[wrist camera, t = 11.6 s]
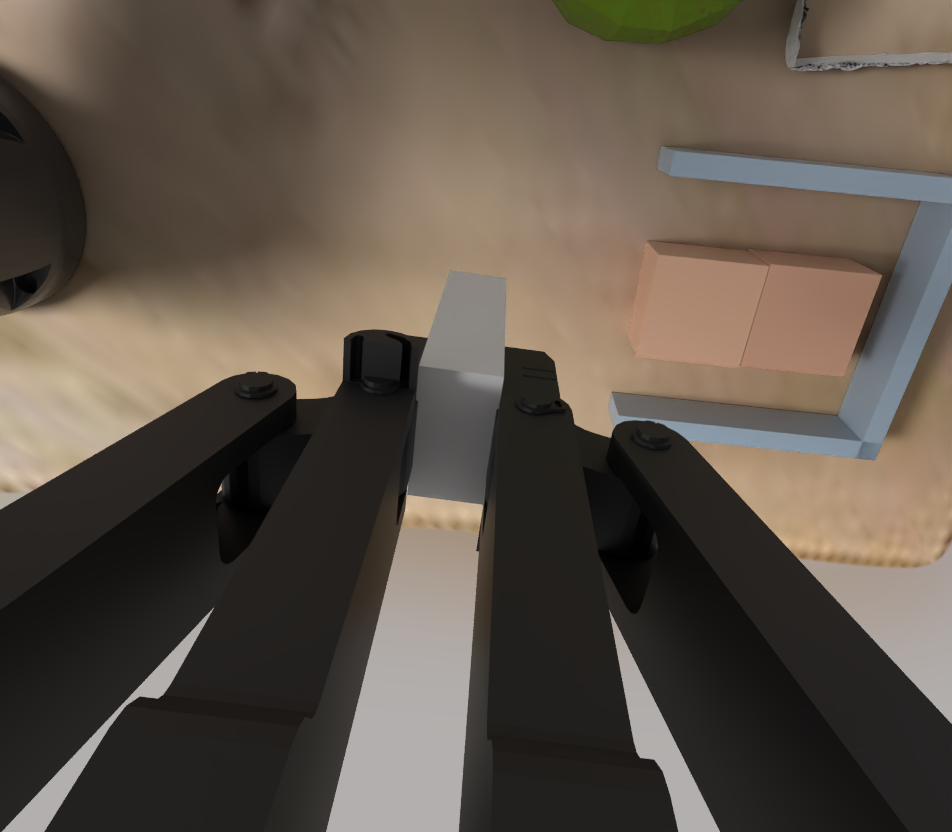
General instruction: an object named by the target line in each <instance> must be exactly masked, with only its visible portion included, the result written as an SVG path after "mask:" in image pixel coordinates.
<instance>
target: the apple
mask: <svg viewBox="0 0 952 832" xmlns="http://www.w3.org/2000/svg"><path fill="white" fill-rule="evenodd" d="M552 1H553V2H554V3H555V5H556V6H557V8H558V9H559V10H560V12H561V13H562V15H563V16H564V17H565V19H566V20H567V22H568V23H570V24H572V25H574V26H576V27H578V28H580V29H582V30H584V31H586V32H588V33H590V34H592V35H595V36H597V37H599V38H601V39H603V40H605V41H620V42H636V43H665V42H668V41H671V40H673V39H676V38H679V37H682V36H685V35H688V34H691V33H693V32H696V31H699V30H702V29H705V28H708V27H711V26H713V25H716V24H717V23H718V22H719V21H720V20H721V19H723V18H724V17H725V16H726V15H727V14H728V13H729V12H730V11H731V10H733V9H734V8H735V7H736V6H737V5H738V4H739V3H740V2H742V1H743V0H552Z"/></svg>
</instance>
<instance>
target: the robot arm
mask: <svg viewBox="0 0 952 832" xmlns="http://www.w3.org/2000/svg"><path fill="white" fill-rule="evenodd" d="M84 240H85V210H84V203H83V198H82V193H81V189H80V186H79V183H78V180H77V177H76V174H75V171H74V169H73V167H72V164H71V162H70V160H69V158H68V156H67V154H66V152H65V150H64V148H63V147H62V145H61V143H60V141H59V140H58V138H57V137H56V135H55V134H54V132H53V131H52V129H51V128H50V126H49V125H48V124H47V122H46V121H45V120H44V119H43V117H42V116H41V115H40V114H39V113H38V111H37V110H36V109H35V108H34V107H33V106H32V105H31V104H30V103H29V102H28V101H27V100H26V99H25V98H24V97H23V96H22V95H21V94H20V93H19V92H18V91H16V90H15V89H14V88H13V87H12V86H10V85H9V84H8V83H7V82H5V81H4V80H3V79H1V78H0V316H2V315H7V314H11V313H14V312H17V311H20V310H22V309H24V308H27V307H29V306H32V305H34V304H36V303H39V302H41V301H43V300H45V299H47V298H49V297H50V296H52V295H53V294H55V293H56V292H57V291H58V290H60V289H61V288H62V287H63V286H64V285H65V284H66V282H67V281H68V280H69V279H70V277H71V276H72V274H73V273H74V271H75V269H76V267H77V265H78V263H79V260H80V257H81V254H82V250H83V246H84ZM505 308H506V278H503V277H495V276H488V275H480V274H473V273H465V272H458V271H451V270H450V273H449V276H448V279H447V282H446V285H445V288H444V291H443V294H442V297H441V300H440V303H439V306H438V309H437V312H436V315H435V318H434V321H433V324H432V328H431V331H430V334H429V337H428V338H424V337H416V336H409V335H405V334H402V333H398V332H393V331H388V330H362V331H358V332H354V333H351V334H349V335H348V336H346V337H345V338H344V356H343V382H342V383H341V385H340V387H339V389H338V390H337V392H336V394H335V396H333V397H328V398H319V399H296V385H295V384H294V383H293V382H291V381H290V380H289V379H287V378H284V377H282V376H279V375H274V374H268V373H267V372H258V373H256V372H247V373H245V374H241V375H235V376H232V377H229V378H227V379H224V380H222V381H220V382H219V383H217V384H215V385H214V386H212V387H210V388H208V389H207V390H205V391H203V392H202V393H200V394H198V395H196V396H195V397H193V398H191V399H190V400H188V401H186V402H184V403H183V404H181V405H179V406H178V407H176V408H174V409H172V410H171V411H169V412H167V413H166V414H164V415H162V416H160V417H159V418H157V419H155V420H153V421H152V422H150V423H148V424H147V425H145V426H143V427H141V428H140V429H138V430H136V431H135V432H133V433H131V434H129V435H128V436H126V437H124V438H123V439H121V440H119V441H117V442H116V443H114V444H112V445H111V446H109V447H107V448H105V449H104V450H102V451H100V452H99V453H97V454H95V455H93V456H92V457H90V458H88V459H87V460H85V461H83V462H81V463H80V464H78V465H76V466H75V467H73V468H71V469H69V470H68V471H66V472H64V473H63V474H61V475H59V476H57V477H56V478H54V479H52V480H51V481H49V482H47V483H45V484H44V485H42V486H40V487H39V488H37V489H35V490H33V491H32V492H30V493H28V494H26V495H25V496H23V497H21V498H20V499H18V500H16V501H15V502H13V503H11V504H9V505H8V506H6V507H4V508H3V509H1V510H0V832H2V831H3V830H4V829H5V827H6V826H7V825H8V824H9V823H10V822H11V821H12V820H13V819H14V818H15V817H16V816H17V815H18V814H19V813H20V811H22V810H23V808H24V807H25V806H26V805H27V804H28V803H29V802H30V801H31V800H32V799H33V798H34V797H35V796H36V795H37V794H38V792H40V791H41V789H42V788H43V787H44V786H45V785H46V784H47V783H48V782H49V781H50V780H51V779H52V778H53V777H54V776H55V775H56V774H57V772H58V771H59V770H60V769H61V768H62V767H63V766H64V765H65V764H66V763H67V762H68V761H69V760H70V759H71V758H72V757H73V756H74V755H75V754H76V752H77V751H78V750H79V749H80V748H81V747H82V746H83V745H84V744H85V743H86V742H87V741H88V740H89V738H91V737H92V736H93V734H94V733H95V732H96V731H97V730H98V729H99V728H100V727H101V726H102V725H103V724H104V723H105V721H107V720H108V718H110V716H111V715H112V714H113V713H114V712H115V711H116V710H117V709H118V708H119V707H120V706H121V705H122V703H124V702H125V700H127V699H128V697H129V696H130V695H131V694H132V693H133V692H134V691H135V690H136V689H137V688H138V687H139V686H140V685H141V684H142V683H143V682H144V681H145V679H146V678H147V677H148V676H149V675H150V674H151V673H152V672H153V671H154V670H155V669H156V668H157V667H158V666H159V665H160V664H161V662H162V661H163V660H164V659H165V658H166V657H167V656H168V655H169V654H170V653H171V652H172V651H173V650H174V649H175V648H176V647H177V646H178V645H179V644H180V642H181V641H182V640H183V639H184V638H185V637H186V636H187V635H188V634H189V633H190V632H191V631H192V630H193V629H194V628H195V627H196V626H197V625H198V623H199V622H200V621H201V620H202V619H203V618H204V617H205V616H206V615H207V614H208V613H209V612H210V611H211V610H212V609H213V608H214V609H213V611H212V613H211V614H210V616H209V618H208V620H207V622H206V623H205V625H204V627H203V629H202V630H201V632H200V634H199V636H198V637H197V639H196V641H195V643H194V644H193V646H192V648H191V650H190V651H189V653H188V655H187V657H186V658H185V660H184V662H183V664H182V666H181V668H180V669H179V671H178V673H177V674H176V676H175V678H174V680H173V681H172V683H171V685H170V686H169V688H168V689H167V691H166V692H165V693H164V695H163V696H161V697H160V698H158V699H155V698H147V697H139V698H137V699H136V700H134V701H133V702H131V703H130V704H128V705H127V706H126V707H125V708H124V709H123V711H122V712H121V713H120V714H119V716H118V717H117V719H116V720H115V721H114V722H113V724H112V725H111V726H110V728H109V729H108V731H107V733H106V734H105V736H104V737H103V739H102V740H101V742H100V744H99V745H98V747H97V749H96V750H95V752H94V753H93V755H92V757H91V758H90V760H89V761H88V763H87V765H86V766H85V768H84V769H83V771H82V773H81V774H80V776H79V777H78V779H77V781H76V782H75V784H74V785H73V787H72V789H71V790H70V792H69V793H68V795H67V797H66V798H65V800H64V801H63V803H62V805H61V806H60V808H59V809H58V811H57V813H56V814H55V816H54V817H53V819H52V821H51V822H50V824H49V825H48V827H47V829H46V830H45V832H326V829H327V825H328V821H329V817H330V813H331V808H332V805H333V801H334V797H335V792H336V789H337V785H338V781H339V776H340V772H341V768H342V764H343V760H344V756H345V752H346V748H347V744H348V740H349V735H350V731H351V728H352V723H353V719H354V715H355V711H356V707H357V703H358V699H359V695H360V691H361V687H362V683H363V679H364V675H365V670H366V666H367V662H368V658H369V654H370V650H371V646H372V642H373V637H374V634H375V630H376V626H377V622H378V617H379V614H380V609H381V605H382V601H383V597H384V593H385V589H386V585H387V581H388V577H389V573H390V569H391V565H392V560H393V557H394V552H395V548H396V544H397V540H398V536H399V532H400V528H401V524H402V520H403V516H404V512H405V504H406V493H407V485H408V494H407V495H414V496H421V497H429V498H437V499H444V500H452V501H460V502H468V503H475V504H483V512H482V518H481V525H480V531H479V537H478V544H477V550H476V551H479V559H478V573H477V587H476V601H475V615H474V630H473V643H472V656H471V670H470V684H469V699H468V713H467V726H466V741H465V754H464V768H463V783H462V797H461V809H460V824H459V832H678V829H677V824H676V820H675V815H674V811H673V806H672V802H671V797H670V794H669V791H668V787H667V784H666V781H665V778H664V775H663V772H662V770H661V769H660V767H659V766H658V765H657V763H656V762H655V760H652V759H643V758H640V757H639V756H638V754H637V752H636V749H635V745H634V742H633V736H632V731H631V726H630V720H629V715H628V709H627V704H626V698H625V693H624V688H623V682H622V678H621V672H620V666H619V661H618V656H617V650H616V645H615V639H614V634H613V628H612V623H611V618H610V612H611V614H612V616H613V618H614V620H615V622H616V624H617V626H618V628H619V630H620V632H621V634H622V636H623V638H624V640H625V642H626V644H627V646H628V648H629V650H630V652H631V654H632V656H633V658H634V660H635V662H636V664H637V666H638V668H639V670H640V672H641V674H642V676H643V678H644V680H645V682H646V684H647V686H648V688H649V690H650V692H651V694H652V696H653V698H654V700H655V702H656V704H657V706H658V708H659V710H660V712H661V714H662V716H663V718H664V720H665V722H666V724H667V726H668V728H669V730H670V732H671V734H672V736H673V738H674V740H675V742H676V744H677V746H678V748H679V750H680V752H681V754H682V756H683V758H684V760H685V762H686V764H687V766H688V768H689V770H690V772H691V774H692V776H693V778H694V780H695V782H696V784H697V786H698V788H699V790H700V792H701V794H702V796H703V798H704V800H705V802H706V804H707V806H708V808H709V810H710V812H711V814H712V816H713V818H714V820H715V822H716V824H717V826H718V828H719V830H720V832H952V724H951V723H950V722H949V721H948V720H947V719H946V718H945V717H944V715H943V714H942V713H941V712H940V711H939V710H938V709H937V708H936V707H935V706H934V705H933V704H932V702H930V700H929V699H928V698H927V697H926V696H925V695H924V694H923V693H922V692H921V691H920V690H919V689H918V688H917V686H916V685H915V684H914V683H913V682H912V681H911V680H910V679H909V678H908V677H907V676H906V675H905V674H904V672H902V670H901V669H900V668H899V667H898V666H897V665H896V664H895V663H894V662H893V661H892V660H891V658H889V657H888V655H887V654H886V653H885V652H884V651H883V650H882V649H881V648H880V647H879V646H878V645H877V643H876V642H875V641H874V640H873V639H872V638H871V637H870V636H869V635H868V634H867V633H866V632H865V631H864V630H863V629H862V628H861V626H860V625H859V624H858V623H857V622H856V621H855V620H854V619H853V618H852V617H851V616H850V615H849V613H848V612H847V611H846V610H845V609H844V608H843V607H842V606H841V605H840V604H839V603H838V602H837V601H836V599H834V597H833V596H832V595H831V594H830V593H829V592H828V591H827V590H826V589H825V588H824V587H823V585H822V584H821V583H820V582H819V581H818V580H817V579H816V578H815V577H814V576H813V575H812V574H811V573H810V572H809V570H808V569H807V568H806V567H805V566H804V565H803V564H802V563H801V562H800V561H799V560H798V559H797V558H796V556H795V555H794V554H793V553H792V552H791V551H790V550H789V549H788V548H787V547H786V546H785V545H784V544H783V543H782V541H781V540H780V539H779V538H778V537H777V536H776V535H775V534H774V533H773V532H772V531H771V530H770V529H769V527H768V526H767V525H766V524H765V523H764V522H763V521H762V520H761V519H760V518H759V517H758V516H757V515H756V514H755V512H754V511H753V510H752V509H751V508H750V507H749V506H748V505H747V504H746V503H745V502H744V501H743V500H742V499H741V497H740V496H739V495H738V494H737V493H736V492H735V491H734V490H733V489H732V488H731V487H730V486H729V485H728V483H727V482H726V481H725V480H724V479H723V478H722V477H721V476H720V475H719V474H718V473H717V472H716V471H715V470H714V468H713V467H712V466H711V465H710V464H709V463H708V462H707V461H706V460H705V459H704V458H703V457H702V456H701V454H700V453H699V452H698V451H697V450H696V449H695V448H694V447H693V446H692V445H691V444H690V443H689V442H688V441H687V439H685V438H684V437H683V436H682V435H680V434H679V433H678V432H676V431H674V430H672V429H670V428H668V427H666V426H665V425H664V424H661V423H658V422H657V424H656V423H655V422H654V421H649V420H646V421H639V420H632V421H623V422H621V423H619V424H617V425H616V426H615V428H614V430H613V432H612V436H611V438H608V437H605V436H602V435H598V434H595V433H592V432H590V431H587V430H584V429H582V428H580V427H578V426H576V425H575V424H574V419H573V413H572V410H571V408H570V407H569V405H568V404H567V403H566V402H564V401H563V400H561V399H560V393H559V387H558V381H557V375H556V368H555V362H554V361H553V360H552V359H551V358H550V357H549V356H548V355H547V354H546V353H545V352H542V351H534V350H527V349H519V348H511V347H505ZM408 481H409V483H408ZM221 484H222V490H221V491H220V492H219V493H218V494H217V492H218V490H219V488H220V485H221ZM215 605H216V606H215ZM609 610H610V612H609Z"/></svg>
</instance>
